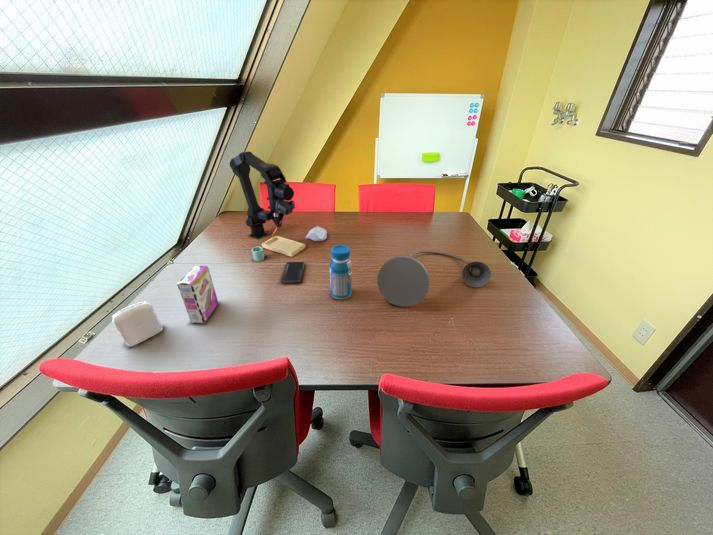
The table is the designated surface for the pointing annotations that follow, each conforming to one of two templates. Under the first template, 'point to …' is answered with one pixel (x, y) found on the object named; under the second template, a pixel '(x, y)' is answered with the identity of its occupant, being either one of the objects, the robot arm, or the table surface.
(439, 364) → the table surface
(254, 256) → the cup
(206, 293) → the candy bar box
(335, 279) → the beverage bottle
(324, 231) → the crumpled paper
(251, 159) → the robot arm
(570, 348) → the table surface
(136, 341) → the photo printer
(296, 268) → the phone
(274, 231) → the red thin rounded piece
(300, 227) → the table surface
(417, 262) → the desk lamp
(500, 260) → the table surface
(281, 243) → the tray
